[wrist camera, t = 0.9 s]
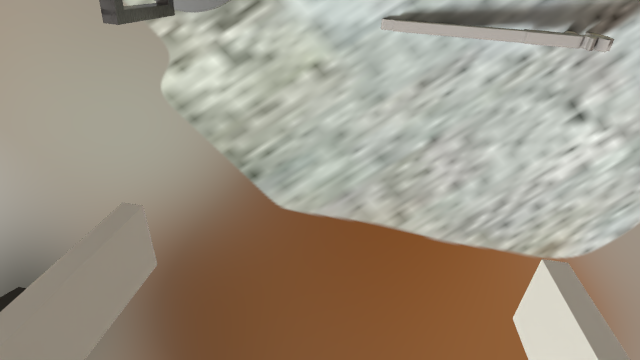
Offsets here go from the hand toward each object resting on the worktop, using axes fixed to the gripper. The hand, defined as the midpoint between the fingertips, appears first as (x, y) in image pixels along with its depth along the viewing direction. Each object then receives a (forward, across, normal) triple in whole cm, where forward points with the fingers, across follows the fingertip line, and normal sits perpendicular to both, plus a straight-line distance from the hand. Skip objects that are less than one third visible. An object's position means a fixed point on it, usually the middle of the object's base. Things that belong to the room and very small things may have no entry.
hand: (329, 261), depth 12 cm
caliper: (+32, +12, +4) cm, 35 cm away
